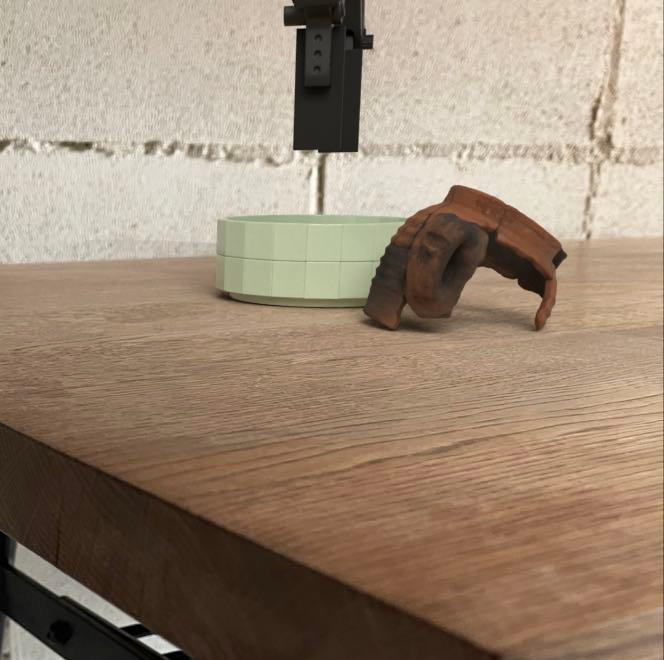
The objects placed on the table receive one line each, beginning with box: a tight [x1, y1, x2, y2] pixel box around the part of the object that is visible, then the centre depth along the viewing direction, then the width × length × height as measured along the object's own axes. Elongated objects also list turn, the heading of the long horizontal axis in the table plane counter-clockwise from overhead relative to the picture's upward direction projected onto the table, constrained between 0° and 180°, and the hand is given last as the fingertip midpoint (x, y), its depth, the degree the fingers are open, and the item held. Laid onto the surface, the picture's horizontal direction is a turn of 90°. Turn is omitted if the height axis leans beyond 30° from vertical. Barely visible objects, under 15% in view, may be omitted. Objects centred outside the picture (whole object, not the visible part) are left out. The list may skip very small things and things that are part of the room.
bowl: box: [214, 214, 409, 308], centre depth 74 cm, size 13×13×5 cm
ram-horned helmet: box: [362, 184, 568, 331], centre depth 60 cm, size 12×10×8 cm
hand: (328, 152), depth 72 cm, fingers open, 13 cm apart
